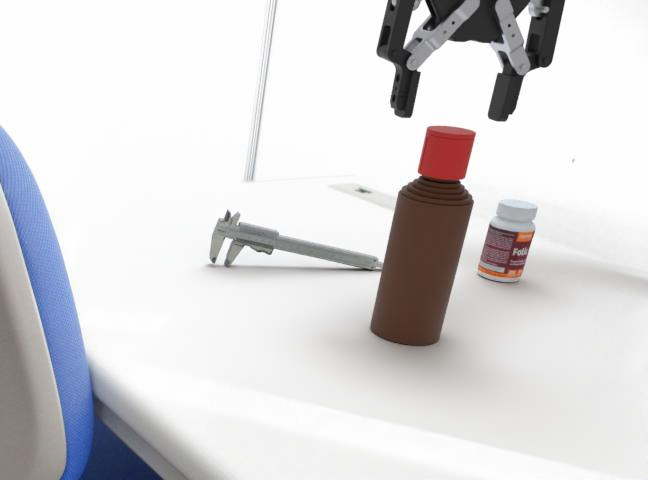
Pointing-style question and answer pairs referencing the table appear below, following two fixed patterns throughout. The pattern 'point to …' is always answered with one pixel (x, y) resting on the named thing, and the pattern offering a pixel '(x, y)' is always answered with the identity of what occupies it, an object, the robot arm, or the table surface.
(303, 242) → the caliper
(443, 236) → the sauce bottle
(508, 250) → the pill bottle
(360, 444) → the table surface
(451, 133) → the cap
